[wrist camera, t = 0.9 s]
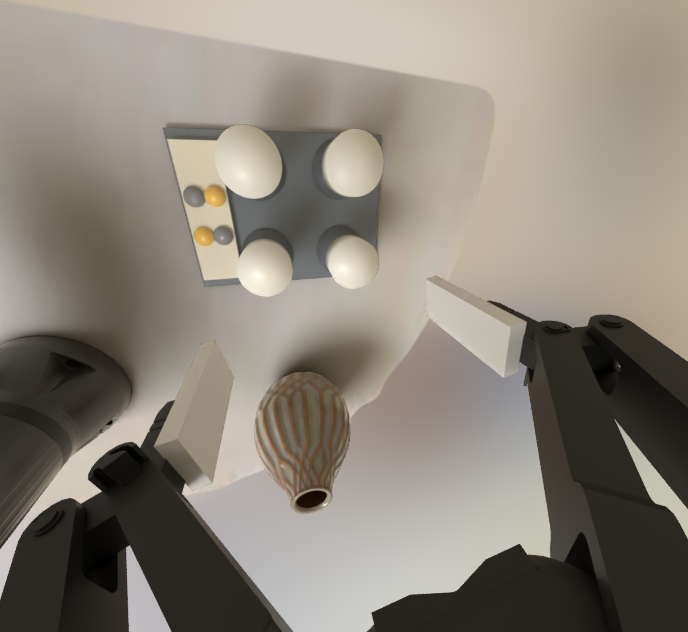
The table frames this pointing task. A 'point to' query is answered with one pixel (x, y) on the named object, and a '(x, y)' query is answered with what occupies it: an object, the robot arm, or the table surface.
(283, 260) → the button
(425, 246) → the table surface
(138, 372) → the table surface
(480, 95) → the table surface
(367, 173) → the button
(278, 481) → the vase
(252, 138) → the button
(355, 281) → the button
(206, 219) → the board
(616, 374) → the robot arm
